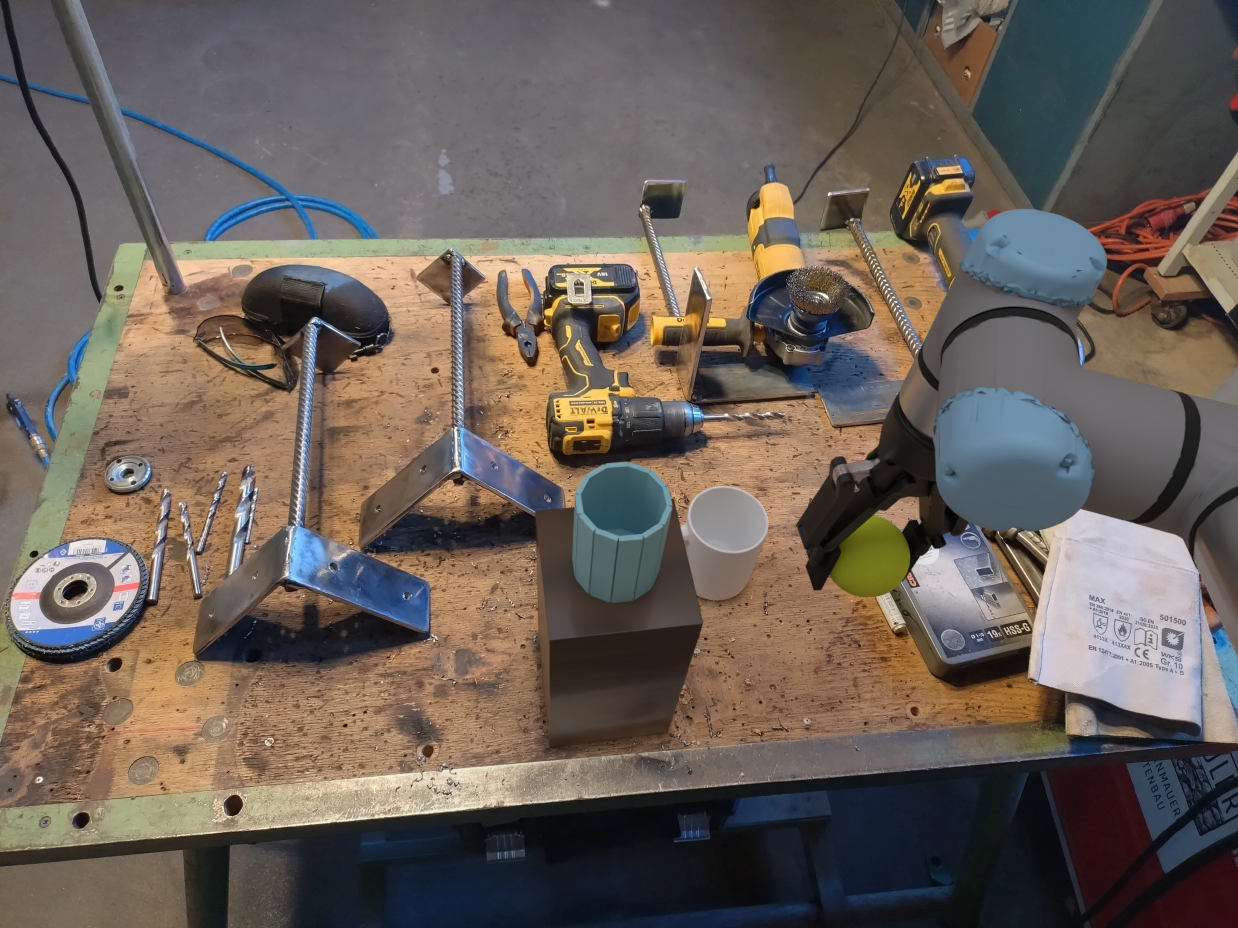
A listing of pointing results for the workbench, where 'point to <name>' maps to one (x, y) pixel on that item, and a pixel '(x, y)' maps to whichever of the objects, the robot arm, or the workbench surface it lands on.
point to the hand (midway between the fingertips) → (854, 573)
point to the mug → (723, 540)
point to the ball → (872, 559)
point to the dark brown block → (611, 642)
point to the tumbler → (620, 530)
